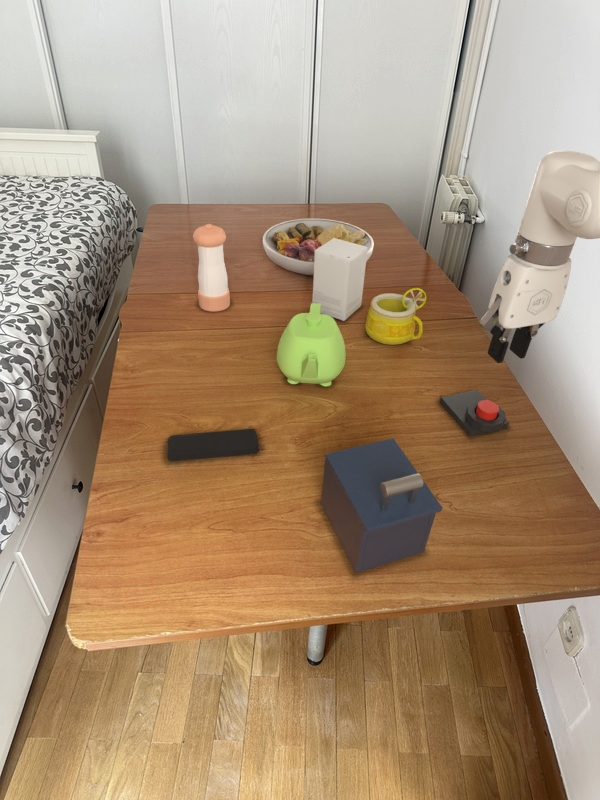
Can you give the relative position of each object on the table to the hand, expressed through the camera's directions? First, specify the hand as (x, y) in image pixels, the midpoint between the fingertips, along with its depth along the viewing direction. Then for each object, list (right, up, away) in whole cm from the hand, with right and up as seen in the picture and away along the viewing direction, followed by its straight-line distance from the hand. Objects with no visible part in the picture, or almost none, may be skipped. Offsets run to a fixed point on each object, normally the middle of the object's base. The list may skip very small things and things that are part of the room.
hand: (505, 355), depth 87 cm
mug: (-13, +7, +32) cm, 35 cm away
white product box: (-25, +14, +40) cm, 49 cm away
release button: (0, -10, +8) cm, 13 cm away
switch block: (-2, -10, +12) cm, 16 cm away
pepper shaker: (-53, +15, +40) cm, 68 cm away
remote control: (-48, -15, +3) cm, 50 cm away
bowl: (-29, +32, +62) cm, 76 cm away
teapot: (-31, -2, +20) cm, 37 cm away
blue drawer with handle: (-23, -18, -15) cm, 33 cm away
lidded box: (-23, -26, -9) cm, 36 cm away
